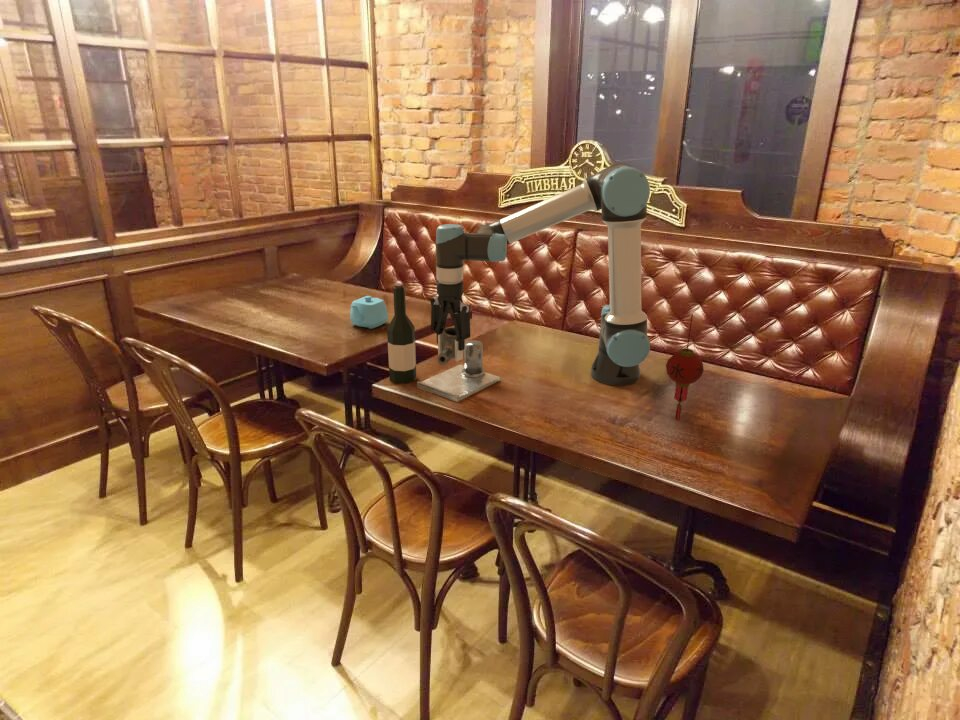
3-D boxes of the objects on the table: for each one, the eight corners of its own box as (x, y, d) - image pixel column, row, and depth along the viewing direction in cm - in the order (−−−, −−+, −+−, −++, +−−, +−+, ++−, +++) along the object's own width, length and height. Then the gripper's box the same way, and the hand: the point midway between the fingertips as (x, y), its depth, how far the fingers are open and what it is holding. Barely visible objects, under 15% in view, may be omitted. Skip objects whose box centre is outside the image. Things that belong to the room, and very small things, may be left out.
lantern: (652, 419, 168) (665, 313, 156) (670, 408, 174) (684, 306, 163) (684, 431, 161) (700, 322, 150) (702, 419, 167) (718, 314, 156)
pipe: (432, 366, 176) (433, 340, 173) (445, 349, 187) (447, 325, 184) (452, 369, 175) (454, 343, 172) (465, 352, 186) (466, 328, 183)
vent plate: (500, 379, 192) (501, 346, 187) (457, 402, 177) (456, 366, 172) (461, 367, 201) (461, 334, 197) (417, 387, 186) (415, 352, 182)
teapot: (339, 330, 234) (337, 301, 230) (368, 317, 249) (367, 289, 245) (365, 335, 229) (363, 305, 225) (394, 321, 244) (392, 293, 239)
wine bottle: (391, 385, 187) (386, 289, 176) (387, 374, 195) (382, 282, 184) (418, 382, 189) (415, 287, 178) (414, 372, 197) (410, 280, 186)
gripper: (484, 283, 171) (483, 361, 180) (434, 272, 182) (435, 346, 191) (467, 289, 165) (466, 369, 174) (416, 277, 176) (418, 353, 185)
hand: (450, 357), depth 182 cm, fingers closed on pipe, 6 cm apart
